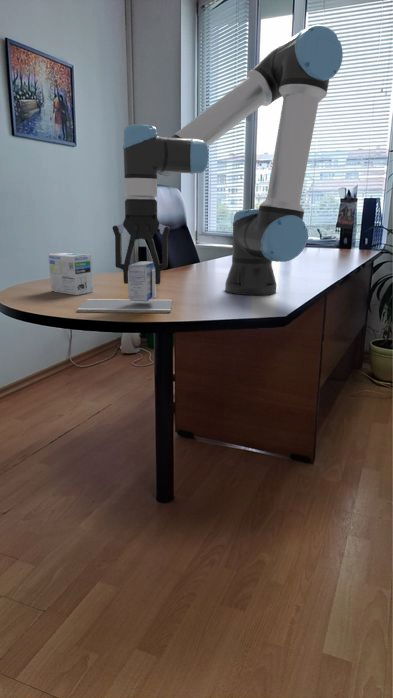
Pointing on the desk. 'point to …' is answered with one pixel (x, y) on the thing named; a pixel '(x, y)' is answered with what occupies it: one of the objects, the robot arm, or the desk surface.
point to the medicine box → (140, 281)
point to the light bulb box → (71, 273)
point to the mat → (126, 306)
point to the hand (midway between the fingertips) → (142, 296)
